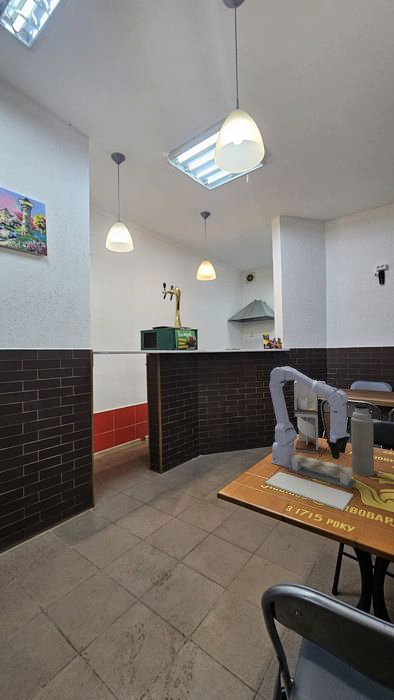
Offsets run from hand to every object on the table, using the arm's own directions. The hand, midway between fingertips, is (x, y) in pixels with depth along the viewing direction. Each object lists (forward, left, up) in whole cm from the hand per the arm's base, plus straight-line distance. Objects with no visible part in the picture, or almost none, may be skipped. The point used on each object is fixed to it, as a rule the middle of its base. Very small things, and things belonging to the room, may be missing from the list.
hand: (338, 455), depth 110 cm
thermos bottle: (+5, +13, -10) cm, 17 cm away
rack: (-7, -2, -10) cm, 12 cm away
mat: (-7, -16, -10) cm, 20 cm away
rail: (-7, -2, -7) cm, 9 cm away
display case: (-23, +25, -10) cm, 35 cm away
